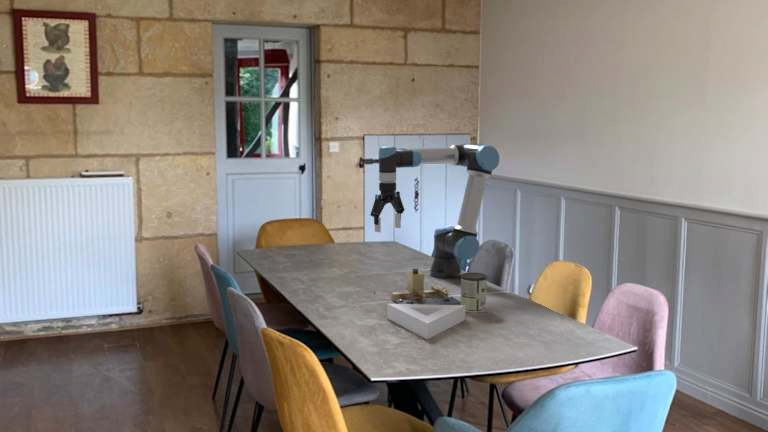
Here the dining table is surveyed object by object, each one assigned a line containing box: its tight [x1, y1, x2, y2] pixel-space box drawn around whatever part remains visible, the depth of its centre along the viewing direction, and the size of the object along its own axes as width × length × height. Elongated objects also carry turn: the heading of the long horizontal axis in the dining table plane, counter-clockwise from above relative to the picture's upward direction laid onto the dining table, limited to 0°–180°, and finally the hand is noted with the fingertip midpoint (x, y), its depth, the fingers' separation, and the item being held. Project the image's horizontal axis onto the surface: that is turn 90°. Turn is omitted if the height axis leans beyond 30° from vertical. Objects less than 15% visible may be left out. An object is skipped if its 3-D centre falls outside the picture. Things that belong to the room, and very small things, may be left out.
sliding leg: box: [406, 267, 426, 301], centre depth 327 cm, size 5×15×11 cm, turn 17°
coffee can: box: [460, 272, 488, 314], centre depth 315 cm, size 10×10×14 cm
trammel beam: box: [390, 285, 449, 302], centre depth 328 cm, size 24×14×4 cm, turn 107°
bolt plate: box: [395, 295, 461, 305], centre depth 322 cm, size 25×10×2 cm, turn 107°
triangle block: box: [386, 303, 466, 340], centre depth 295 cm, size 30×26×6 cm
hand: (387, 229), depth 345 cm, fingers open, 13 cm apart
